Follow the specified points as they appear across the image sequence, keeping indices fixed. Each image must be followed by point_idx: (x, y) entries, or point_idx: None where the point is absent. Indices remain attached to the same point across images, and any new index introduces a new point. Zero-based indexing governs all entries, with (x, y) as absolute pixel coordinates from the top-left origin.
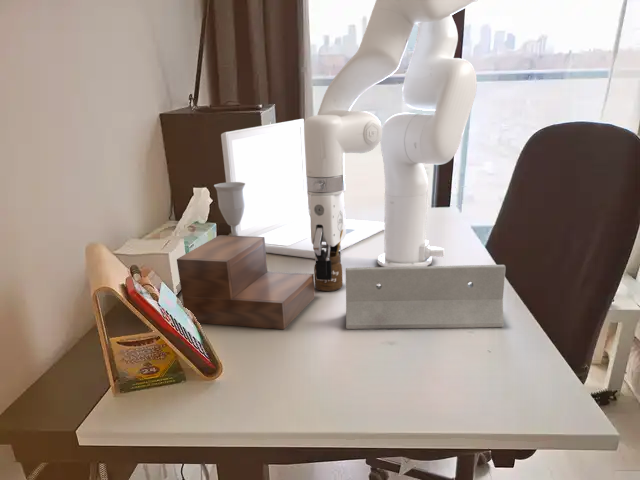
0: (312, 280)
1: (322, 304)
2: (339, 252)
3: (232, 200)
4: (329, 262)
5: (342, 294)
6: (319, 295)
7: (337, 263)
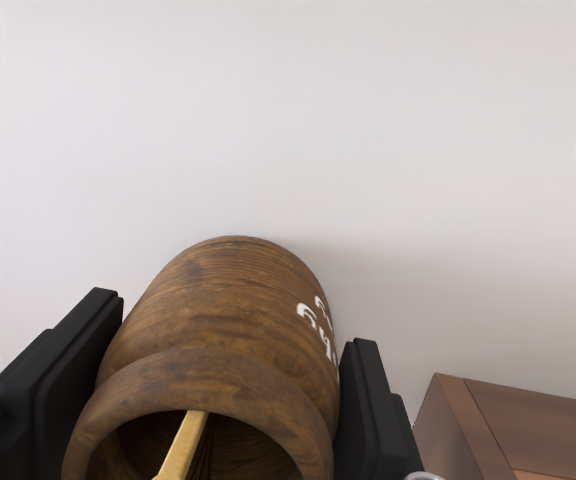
0: (508, 469)
1: (563, 322)
2: (32, 388)
3: None
4: (403, 451)
5: (386, 219)
6: (391, 350)
7: (251, 355)
